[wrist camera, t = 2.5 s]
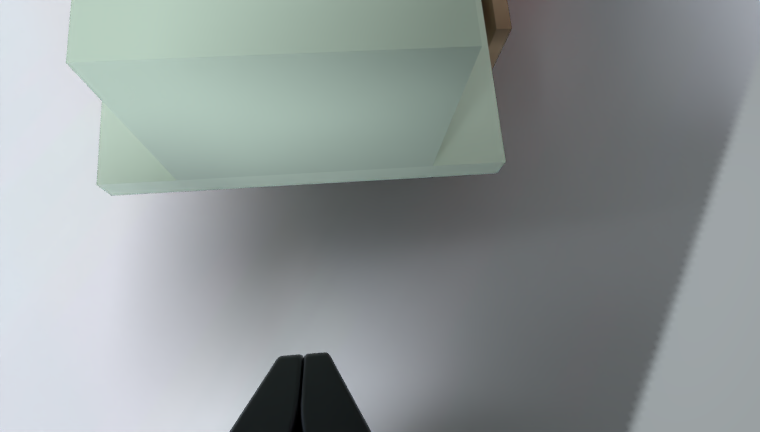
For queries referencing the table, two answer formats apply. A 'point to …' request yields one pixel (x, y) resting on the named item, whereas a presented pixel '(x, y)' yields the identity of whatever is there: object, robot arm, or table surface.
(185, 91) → the lid
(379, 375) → the table surface
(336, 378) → the robot arm
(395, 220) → the table surface
